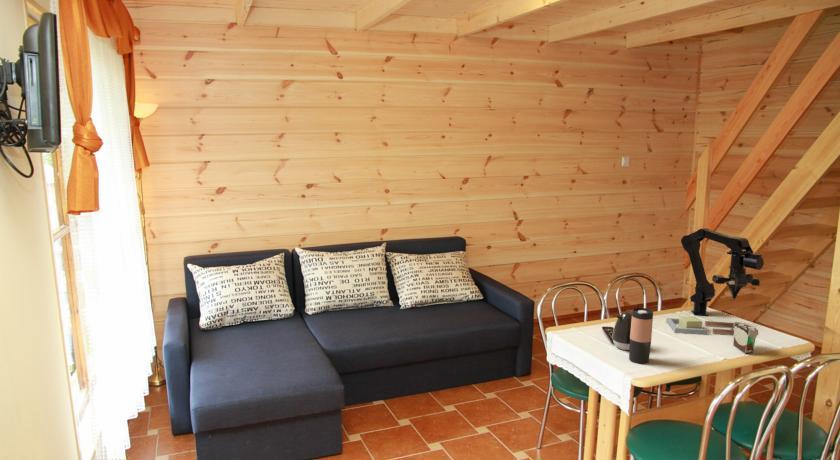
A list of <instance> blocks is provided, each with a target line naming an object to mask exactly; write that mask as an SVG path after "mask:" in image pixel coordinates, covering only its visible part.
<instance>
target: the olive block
mask: <svg viewBox="0 0 840 460" xmlns="http://www.w3.org/2000/svg"><path fill="white" fill-rule="evenodd" d="M678 319H679V324H678V326H677V327H679V328H695V329H703V320H701V319H699V318H697V316H696V315H694V316H691V315H690V316H688V315H687V316H686V315H685V316H679V317H678Z"/></svg>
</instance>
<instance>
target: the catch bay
mask: <svg viewBox="0 0 840 460" xmlns="http://www.w3.org/2000/svg"><path fill="white" fill-rule="evenodd" d="M665 323H666V324H667V325H668V326H669V327H670V329H671V330H672V331H673V332H674V333H675V334H689V335H690V334H691V335H703V336H704V335H707V336H708V335H709V334H708V331H709V330H708V328H702V329H695V328H680V327H678V326H677V324H678V325H679V317H678V318H676V317H675V318H674V317H666V319H665Z"/></svg>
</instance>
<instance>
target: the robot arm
mask: <svg viewBox="0 0 840 460" xmlns="http://www.w3.org/2000/svg"><path fill="white" fill-rule="evenodd" d="M705 239H706V240H707V239H708V240H710V241H712V242H713V241H714V242H717V243H718V244H722V245H724V246H726V248H728V249H730V250H729V251H727V252H726V254H727V255H730V256H731V257H730V264H729V266H728V268H729V274H728V277H725V276H724V275H720V274H719V275H718V274H713V276H712V277H711V281H712V282H711V283H710V281H709V280H708V278H707V275H706V270H705V268H704V264H703V261H702V257H701V254H700V253H701V252H700V250H701V242H702V241H704V240H705ZM680 243H681V245H682V248H683V250H684V251H685V253H687V254H688V257H689V260H690V264H691V267H692V271H693V275H694V279H695V286H694V292H695V293H694V294H692V295H691V296H690V297H689V299H690V302H692V303H693V309H692V310H691V309H690V312H691V313H692V314H693V315H694V316H706V317H707V316H708V317H709V316H710V315H709V313H708V312H707V308H708V302H711V301H712V300H713V298H715V295H716V289H715V285H714V284H717V285H724V284H725V285H727V286H728V289H729V291H730V294H731V298H732V299H734V300H736V298H737V297H738V294H739V293H740V291H741V290H742V288H744V287H747V285H748V284H750V285H752V286H756V287H757V286H761V285H760V284H761V281H760V279H759V278H757V277H756V276H754V275H753V273H746V268H747V269H752V270H756V271H760V270H762V269H763V267H764V264H765V262H764V258H763V257H762V256H763V255H762V254H761V253H758V254H757V253H755V252H754V251H753V249H752V247H751V245H750V242H749V239H748V238H746V237H741V236H740V237H739V236H732V235H731V236H730V235H728V234H724V233H721V232H719V231H715V230H712V229H709V228H705V227H704V228H699V229H698V230H696V231H694V232H691V233H689V234H687V235H683V236H682V237H681V239H680ZM713 282H714V283H713Z"/></svg>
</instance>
